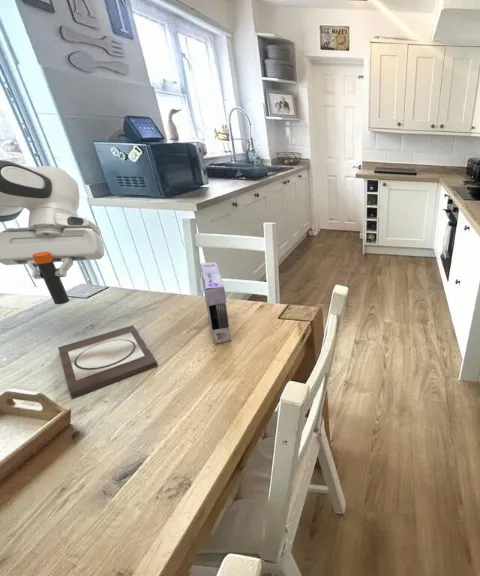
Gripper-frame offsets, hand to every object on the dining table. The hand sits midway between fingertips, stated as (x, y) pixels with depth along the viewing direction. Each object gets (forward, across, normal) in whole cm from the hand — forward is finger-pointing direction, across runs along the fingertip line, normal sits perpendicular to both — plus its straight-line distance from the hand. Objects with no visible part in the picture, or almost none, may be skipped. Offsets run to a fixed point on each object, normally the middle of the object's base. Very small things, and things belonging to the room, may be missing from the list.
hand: (49, 277), depth 79 cm
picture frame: (+21, +10, +6) cm, 24 cm away
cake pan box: (+15, +35, +12) cm, 40 cm away
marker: (+5, 0, +6) cm, 7 cm away
